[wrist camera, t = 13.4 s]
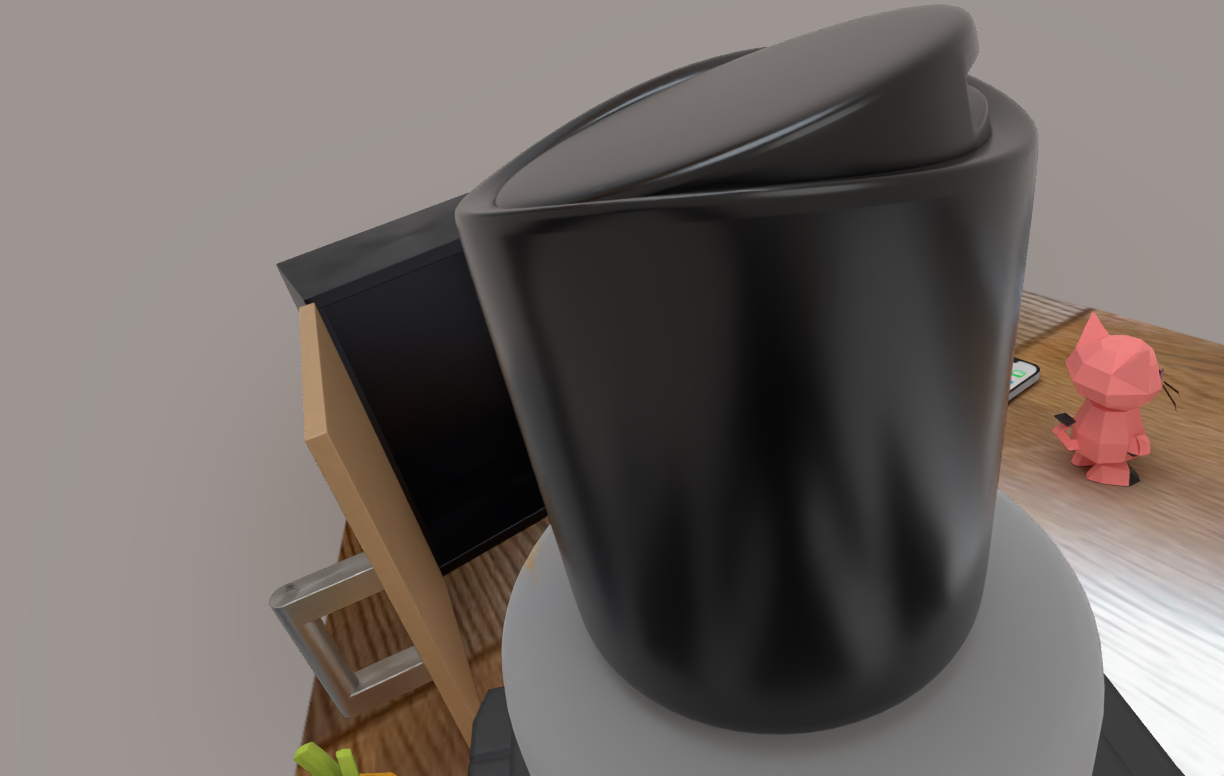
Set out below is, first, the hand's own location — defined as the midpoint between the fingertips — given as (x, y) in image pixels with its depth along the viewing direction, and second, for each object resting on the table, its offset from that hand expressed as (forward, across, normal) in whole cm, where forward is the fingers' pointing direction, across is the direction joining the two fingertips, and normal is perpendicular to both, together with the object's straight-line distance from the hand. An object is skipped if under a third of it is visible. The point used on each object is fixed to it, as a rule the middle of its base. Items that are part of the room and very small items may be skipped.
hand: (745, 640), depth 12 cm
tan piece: (+27, +20, +31) cm, 46 cm away
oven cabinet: (+46, +15, +32) cm, 58 cm away
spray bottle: (-2, 0, +11) cm, 11 cm away
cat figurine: (+34, -32, +31) cm, 56 cm away
